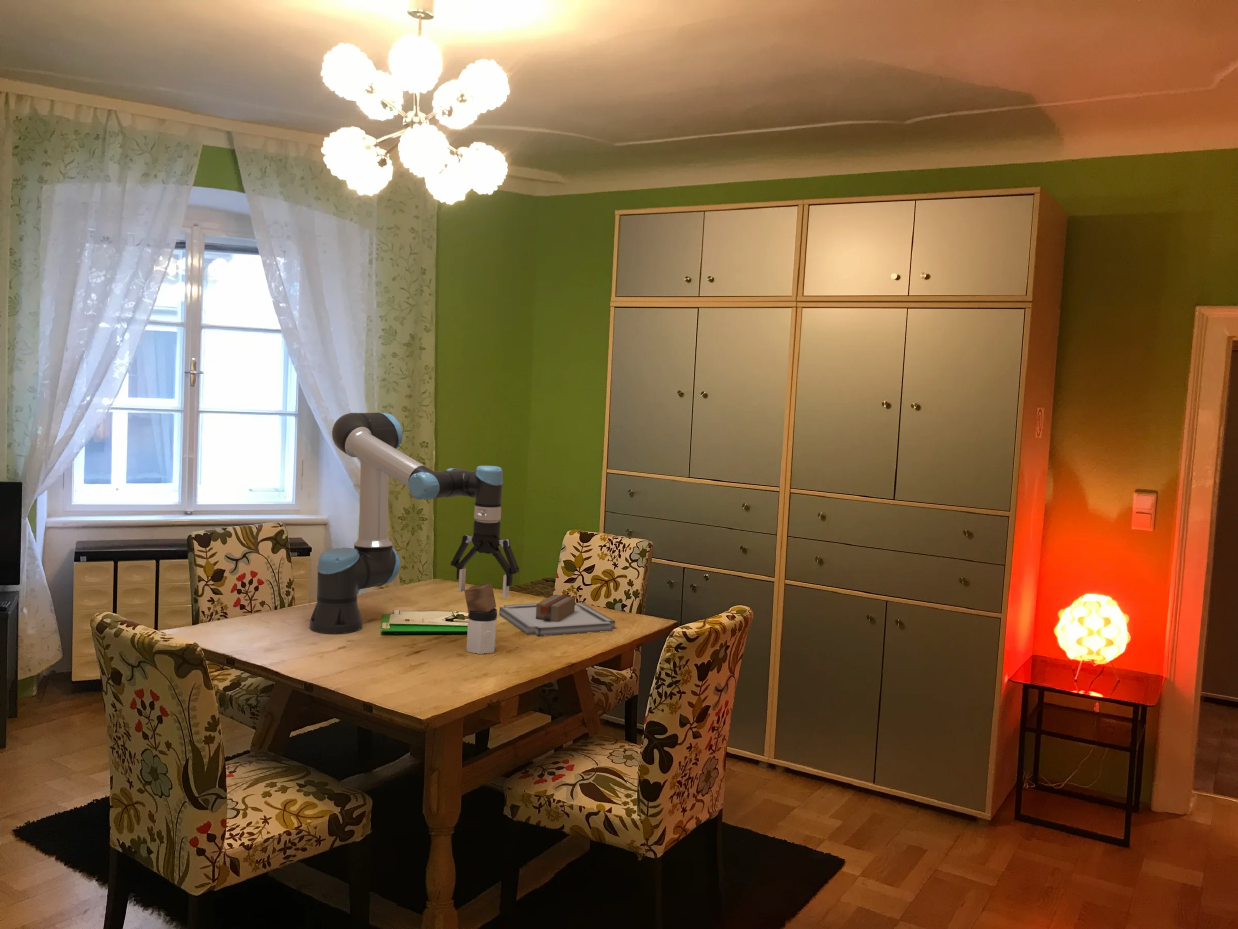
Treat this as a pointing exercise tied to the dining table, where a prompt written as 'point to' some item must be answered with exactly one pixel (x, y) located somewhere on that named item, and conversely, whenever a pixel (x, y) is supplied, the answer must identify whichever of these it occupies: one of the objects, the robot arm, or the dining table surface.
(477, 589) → the walnut block
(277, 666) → the dining table surface
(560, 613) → the grey tray
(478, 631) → the jar
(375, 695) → the dining table surface
